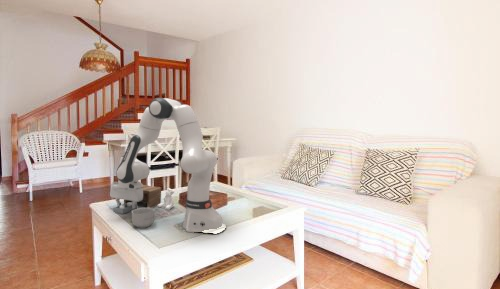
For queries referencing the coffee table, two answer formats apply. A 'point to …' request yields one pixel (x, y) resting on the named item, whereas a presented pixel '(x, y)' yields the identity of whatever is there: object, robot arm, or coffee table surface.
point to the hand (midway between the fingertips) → (125, 207)
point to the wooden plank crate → (150, 196)
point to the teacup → (143, 217)
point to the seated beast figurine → (167, 200)
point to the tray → (124, 208)
